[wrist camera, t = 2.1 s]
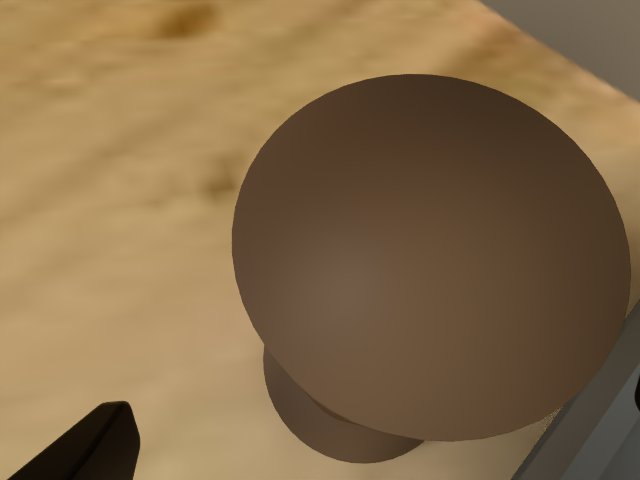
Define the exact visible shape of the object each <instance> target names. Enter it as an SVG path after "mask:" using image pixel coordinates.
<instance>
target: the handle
mask: <svg viewBox="0 0 640 480" xmlns="http://www.w3.org/2000/svg"><path fill="white" fill-rule="evenodd" d="M232 257H233V264H234V271H235V277H236V281H237V285H238V288H239V292H240V295H241V298H242V302H243V305H244V307H245V309H246V311H247V313H248V316H249V318H250V320H251V322H252V324H253V327H254V328H255V330H256V332H257V333H258V335H259V336H260V338H261V340H262V341H263V343H264V344H265V345H264V356H263V361H264V375H265V381H266V385H267V389H268V392H269V396H270V398H271V400H272V403H273V405H274V407H275V409H276V411H277V412H278V414H279V416H280V417H281V419H282V421H283V422H284V423H285V424H286V426H287V427H288V428H289V429H290V431H291V432H292V433H293V434H295V435H296V436H297V437H298V438H299V439H300V440H301V441H302V442H304V443H305V444H306V445H308V446H309V447H311V448H312V449H314V450H316V451H318V452H319V453H321V454H323V455H325V456H328V457H331V458H334V459H336V460H340V461H345V462H350V463H376V462H382V461H386V460H390V459H394V458H396V457H398V456H401V455H403V454H405V453H407V452H409V451H411V450H412V449H414V448H416V447H417V446H418V445H420V444H421V443H422V442H423V441H425V440H434V441H463V440H475V439H484V438H488V437H492V436H496V435H500V434H505V433H509V432H512V431H515V430H517V429H520V428H522V427H525V426H527V425H529V424H532V423H534V422H537V421H539V420H541V419H542V418H544V417H546V416H547V415H549V414H551V413H552V412H554V411H555V410H557V409H559V408H560V407H562V406H563V405H565V404H566V403H567V402H568V401H569V400H571V399H572V398H573V397H574V396H575V395H576V394H578V393H579V392H580V391H581V390H582V389H583V388H584V387H585V386H586V385H587V384H588V383H589V381H590V380H591V379H592V378H593V377H594V375H595V374H596V373H597V372H598V371H599V370H600V368H601V367H602V365H603V364H604V362H605V360H606V359H607V357H608V355H609V354H610V352H611V350H612V349H613V347H614V345H615V343H616V340H617V338H618V335H619V333H620V330H621V327H622V325H623V322H624V319H625V314H626V310H627V305H628V300H629V295H630V278H631V267H630V255H629V246H628V241H627V237H626V233H625V228H624V224H623V221H622V218H621V216H620V213H619V210H618V208H617V205H616V202H615V200H614V198H613V196H612V194H611V192H610V190H609V189H608V187H607V185H606V183H605V181H604V179H603V178H602V176H601V175H600V173H599V172H598V170H597V169H596V167H595V166H594V165H593V163H592V162H591V160H590V159H589V158H588V157H587V155H586V154H585V153H584V152H583V151H582V150H581V149H580V147H579V146H578V145H577V144H576V143H575V142H574V141H573V140H572V139H571V138H570V137H569V136H568V135H567V134H566V133H564V132H563V131H562V130H561V129H560V128H559V127H558V126H557V125H555V124H554V123H553V122H551V121H550V120H549V119H547V118H546V117H545V116H543V115H542V114H540V113H539V112H538V111H536V110H534V109H533V108H531V107H529V106H528V105H526V104H524V103H522V102H521V101H519V100H517V99H515V98H513V97H511V96H509V95H506V94H504V93H502V92H500V91H498V90H495V89H492V88H489V87H486V86H483V85H480V84H477V83H474V82H470V81H466V80H461V79H457V78H453V77H445V76H437V75H425V74H403V75H389V76H383V77H377V78H372V79H366V80H363V81H359V82H356V83H352V84H349V85H346V86H343V87H341V88H338V89H336V90H334V91H331V92H329V93H327V94H325V95H323V96H321V97H319V98H318V99H316V100H314V101H312V102H310V103H309V104H307V105H306V106H304V107H303V108H302V109H300V110H299V111H298V112H296V113H295V114H293V115H292V116H291V117H290V118H289V119H287V120H286V121H285V122H284V123H283V124H282V125H281V126H280V127H279V128H278V129H277V130H276V131H275V132H274V133H273V134H272V136H271V137H270V138H269V139H268V140H267V142H266V143H265V144H264V145H263V147H262V148H261V149H260V151H259V153H258V154H257V156H256V158H255V159H254V161H253V162H252V164H251V166H250V168H249V170H248V172H247V174H246V177H245V179H244V181H243V183H242V186H241V189H240V193H239V196H238V200H237V203H236V207H235V213H234V220H233V227H232Z"/></svg>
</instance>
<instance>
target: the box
mask: <svg viewBox="0 0 640 480" xmlns="http://www.w3.org/2000/svg"><path fill="white" fill-rule="evenodd" d="M639 375H640V300H639V302H638V303H637V304H636V306H635V307H634V308H633V310H632V311H631V313H630V314H629V315H628V317H627V318H626V320H625V321H624V322H623V325H622V327H621V330H620V333H619V335H618V338H617V340H616V343H615V345H614V347H613V349H612V350H611V352H610V354H609V355H608V357H607V359H606V360H605V362H604V364H603V365H602V367H601V368H600V370H599V371H598V372H597V373H596V374H595V375H594V377H593V378H592V379H591V380H590V381H589V383H588V384H587V385H586V386H585V387H584V388H583V389H582V390H581V391H580V392H579V393H578V394H576V395H575V396H574V397H573V398H572V399H571V400H569V401H568V402H567V403H566V404H565V405H564V406H563V407H562V409H561V410H560V412H559V413H558V414H557V416H556V417H555V419H554V420H553V421H552V423H551V424H550V426H549V427H548V428H547V430H546V431H545V433H544V434H543V435H542V437H541V438H540V440H539V441H538V442H537V444H536V445H535V446H534V448H533V449H532V451H531V452H530V453H529V455H528V456H527V458H526V459H525V460H524V462H523V463H522V465H521V466H520V467H519V469H518V470H517V472H516V473H515V474H514V476H513V477H512V479H511V480H640V412H639V410H638V408H637V406H636V403H635V399H634V393H635V389H636V386H637V382H638V378H639Z"/></svg>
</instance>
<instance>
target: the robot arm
mask: <svg viewBox="0 0 640 480" xmlns="http://www.w3.org/2000/svg"><path fill="white" fill-rule="evenodd" d="M634 399H635V403H636V406H637V408H638V410H639V412H640V375H639V378H638V382H637V386H636V389H635V393H634ZM139 450H140V435H139V432H138V428H137V425H136V422H135V418H134V415H133V412H132V409H131V406H130V404H129V403H128V402H126V401H115V402H105V403H102V404H100V405H99V406H97V407H96V408H95V409H94V410H93V411H91V412H90V413H89V414H88V415H86V416H85V417H84V418H83V419H81V420H80V421H79V422H78V423H76V424H75V425H74V426H73V427H72V428H70V429H69V430H68V431H67V432H65V433H64V434H63V435H62V436H60V437H59V438H58V439H57V440H55V441H54V442H53V443H52V444H51V445H49V446H48V447H47V448H46V449H44V450H43V451H42V452H41V453H39V454H38V455H37V456H36V457H34V458H33V459H32V460H31V461H29V462H28V463H27V464H26V465H25V466H23V467H22V468H21V469H20V470H18V471H17V472H16V473H15V474H13V475H12V476H11V477H10V478H8V479H7V480H133V476H134V472H135V468H136V463H137V459H138V455H139Z"/></svg>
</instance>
